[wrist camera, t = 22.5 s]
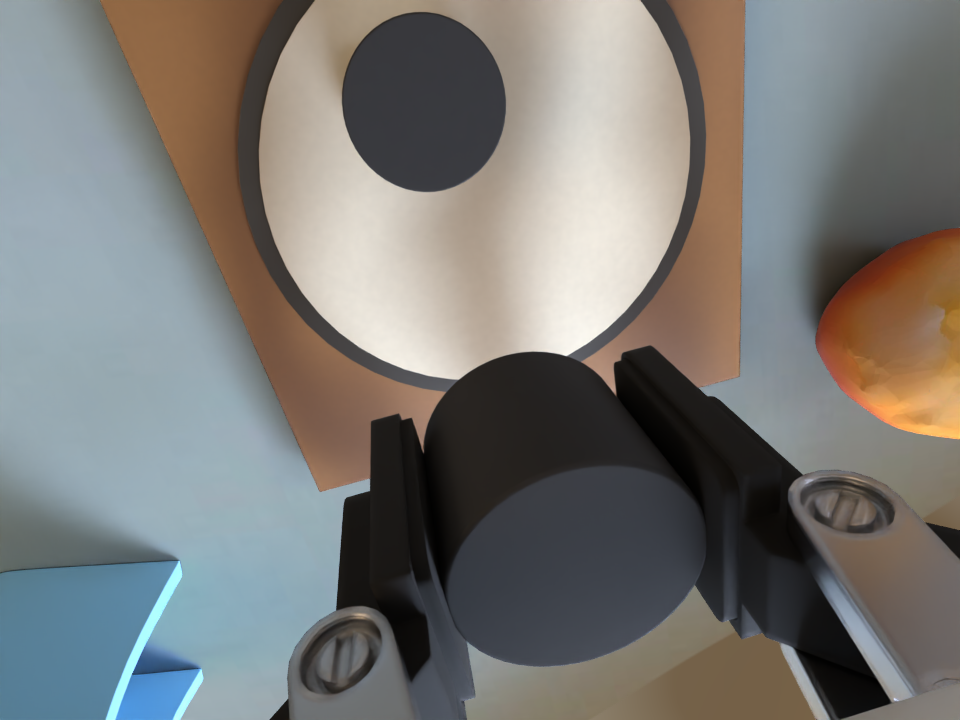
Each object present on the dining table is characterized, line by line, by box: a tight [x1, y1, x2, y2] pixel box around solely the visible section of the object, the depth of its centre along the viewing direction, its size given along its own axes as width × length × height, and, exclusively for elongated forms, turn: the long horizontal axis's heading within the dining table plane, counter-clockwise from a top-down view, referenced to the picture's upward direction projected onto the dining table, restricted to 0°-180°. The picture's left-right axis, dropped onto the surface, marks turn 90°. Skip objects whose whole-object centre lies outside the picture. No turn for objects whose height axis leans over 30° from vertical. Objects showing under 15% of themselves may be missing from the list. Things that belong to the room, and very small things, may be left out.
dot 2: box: [423, 351, 706, 667], centre depth 10 cm, size 4×4×4 cm
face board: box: [100, 0, 745, 492], centre depth 19 cm, size 18×20×1 cm
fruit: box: [815, 228, 960, 439], centre depth 22 cm, size 8×8×8 cm
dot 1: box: [342, 12, 506, 192], centre depth 15 cm, size 4×4×4 cm
